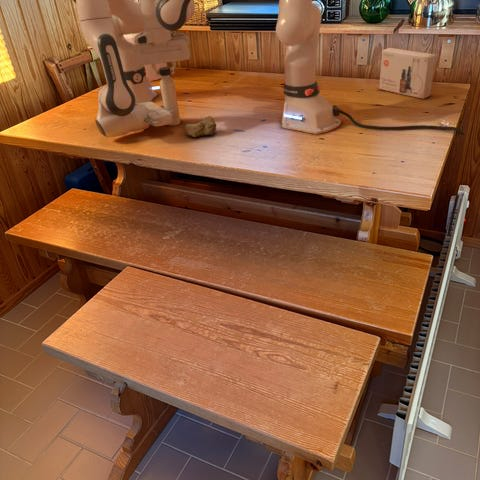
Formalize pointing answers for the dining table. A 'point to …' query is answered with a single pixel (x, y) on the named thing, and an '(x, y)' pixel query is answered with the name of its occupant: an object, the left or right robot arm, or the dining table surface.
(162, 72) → the cap
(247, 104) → the dining table surface
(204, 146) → the dining table surface
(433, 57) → the skincare box
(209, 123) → the rock
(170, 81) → the bottle
